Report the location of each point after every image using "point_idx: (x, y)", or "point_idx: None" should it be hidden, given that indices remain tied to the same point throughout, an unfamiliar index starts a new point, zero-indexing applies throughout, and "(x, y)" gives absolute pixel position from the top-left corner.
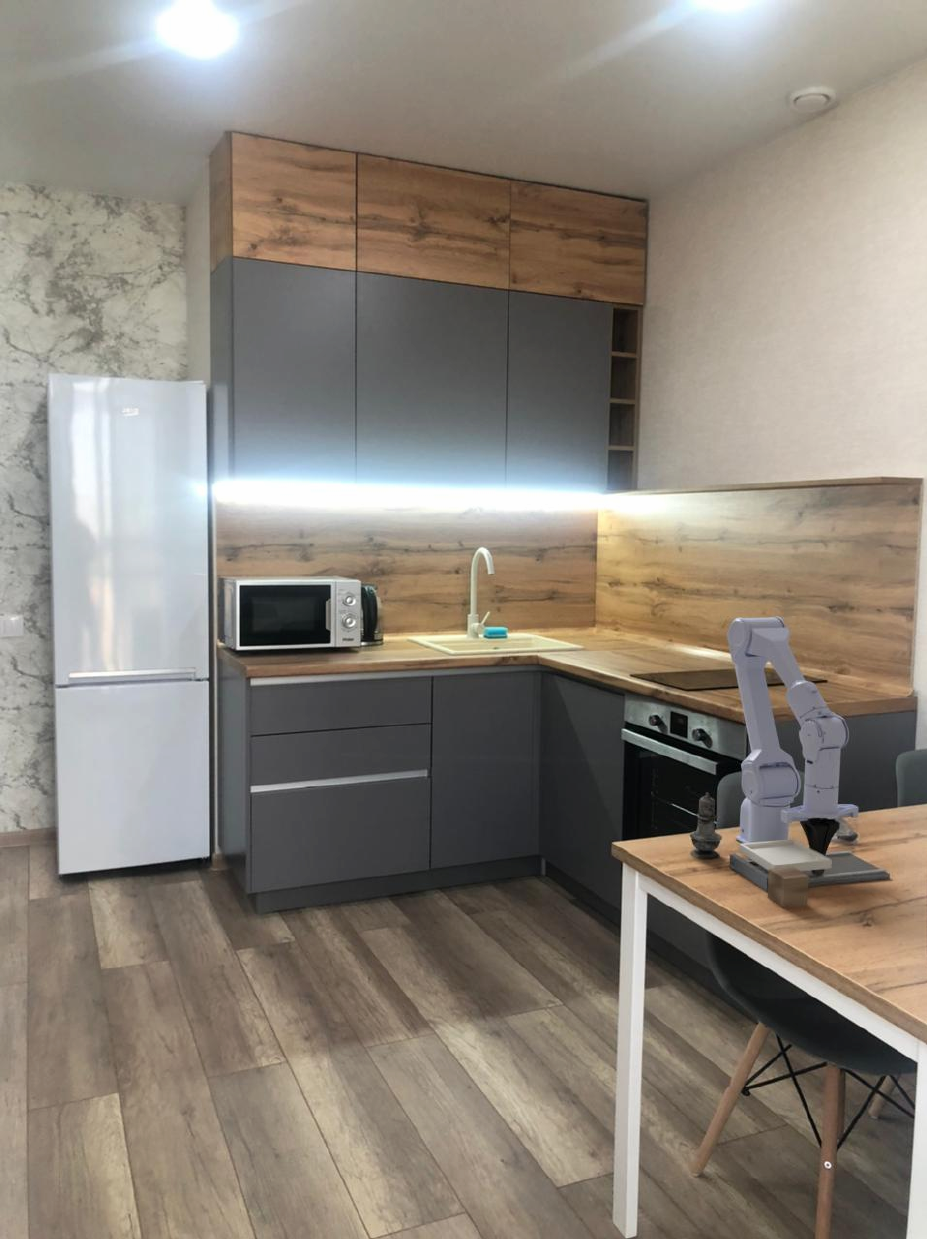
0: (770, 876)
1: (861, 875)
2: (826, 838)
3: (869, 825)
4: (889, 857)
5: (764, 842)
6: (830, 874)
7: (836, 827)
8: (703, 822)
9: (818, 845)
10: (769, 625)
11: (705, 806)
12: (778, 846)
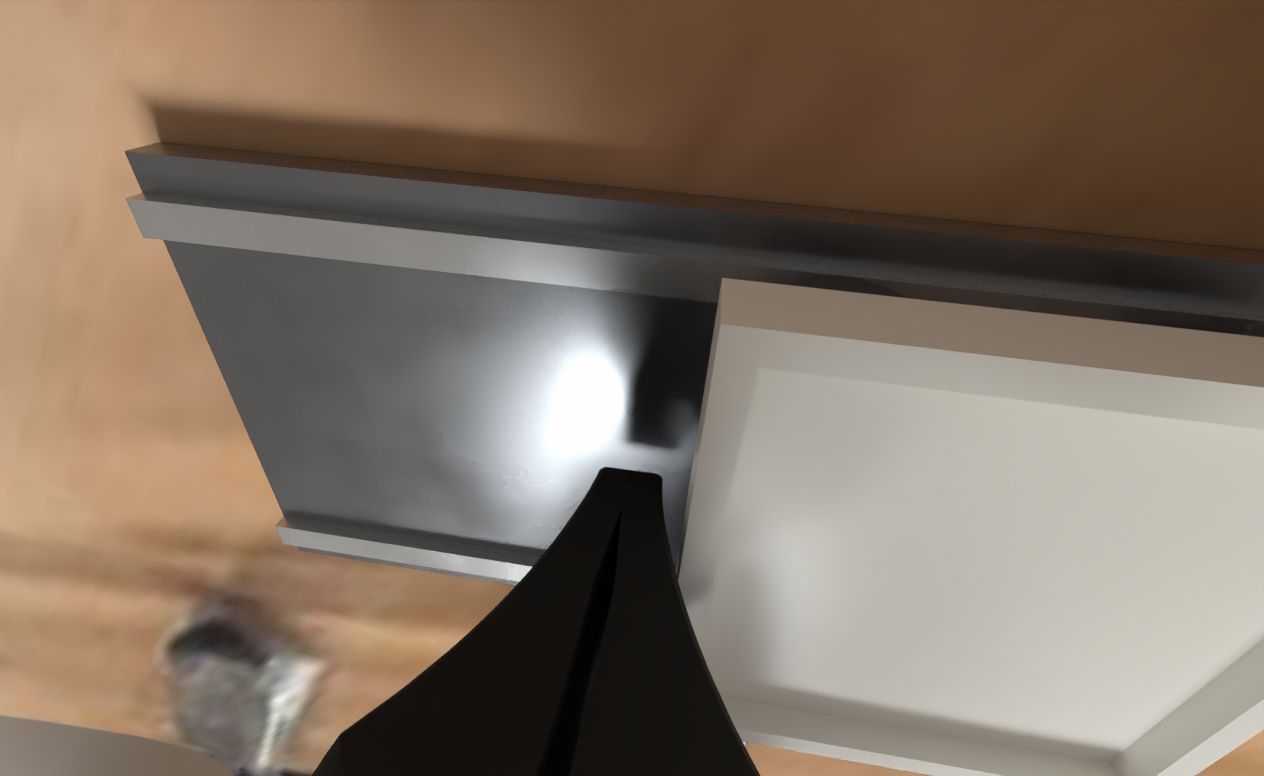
0: None
1: (390, 213)
2: (567, 637)
3: (89, 675)
4: (72, 436)
5: (927, 766)
6: (676, 293)
7: (389, 767)
8: None
9: (672, 587)
10: None
11: None
12: (825, 701)
